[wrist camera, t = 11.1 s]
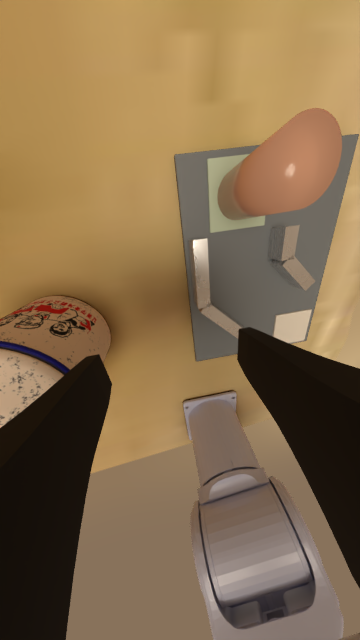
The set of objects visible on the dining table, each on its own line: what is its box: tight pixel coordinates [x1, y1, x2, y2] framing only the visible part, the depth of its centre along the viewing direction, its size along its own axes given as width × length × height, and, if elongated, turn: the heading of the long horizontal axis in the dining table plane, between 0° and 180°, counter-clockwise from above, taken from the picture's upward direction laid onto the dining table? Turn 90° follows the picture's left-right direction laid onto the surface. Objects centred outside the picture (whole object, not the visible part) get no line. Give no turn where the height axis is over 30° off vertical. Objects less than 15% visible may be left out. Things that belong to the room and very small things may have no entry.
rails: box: [188, 225, 315, 339], centre depth 17 cm, size 12×12×2 cm
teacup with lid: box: [0, 296, 111, 428], centre depth 13 cm, size 12×9×12 cm
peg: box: [217, 108, 342, 220], centre depth 11 cm, size 4×4×7 cm
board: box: [174, 134, 359, 362], centre depth 18 cm, size 20×15×1 cm
